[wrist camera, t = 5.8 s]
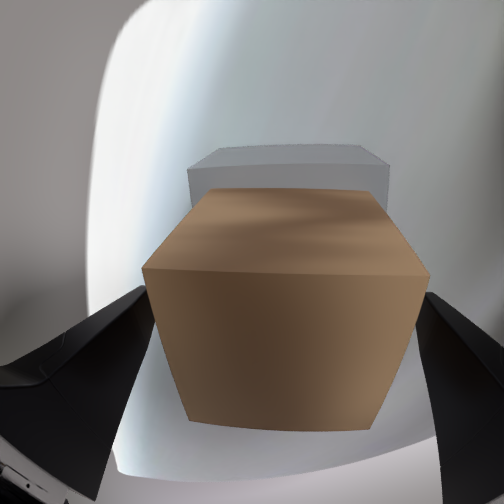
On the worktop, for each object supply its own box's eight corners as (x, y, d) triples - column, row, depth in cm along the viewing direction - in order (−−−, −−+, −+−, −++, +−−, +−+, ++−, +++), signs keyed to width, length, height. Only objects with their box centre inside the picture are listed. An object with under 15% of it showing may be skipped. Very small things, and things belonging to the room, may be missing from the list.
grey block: (359, 145, 14) (389, 165, 9) (353, 269, 17) (369, 326, 12) (219, 148, 15) (186, 169, 10) (232, 269, 18) (212, 325, 13)
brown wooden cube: (368, 190, 10) (430, 275, 5) (351, 317, 12) (369, 429, 7) (210, 188, 10) (141, 268, 6) (223, 313, 13) (189, 420, 8)
